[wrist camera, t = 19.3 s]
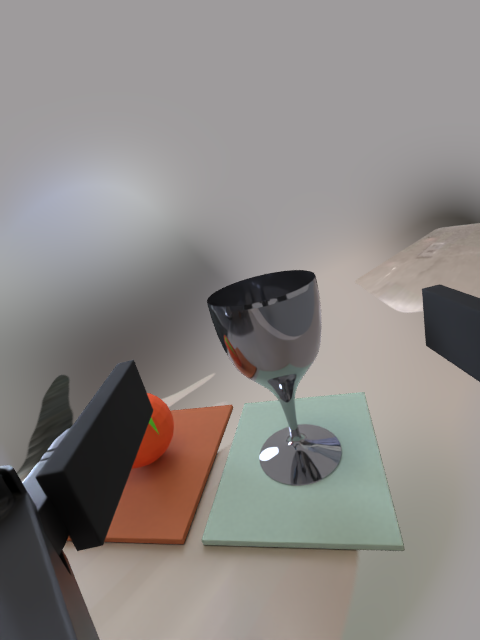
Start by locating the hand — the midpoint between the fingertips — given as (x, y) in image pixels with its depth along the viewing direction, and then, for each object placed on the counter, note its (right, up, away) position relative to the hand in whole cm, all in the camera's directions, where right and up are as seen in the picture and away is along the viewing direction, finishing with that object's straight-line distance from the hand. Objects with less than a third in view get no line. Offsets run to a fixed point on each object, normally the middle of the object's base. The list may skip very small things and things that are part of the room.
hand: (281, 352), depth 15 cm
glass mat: (+3, -10, +14) cm, 18 cm away
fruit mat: (-10, -13, +18) cm, 24 cm away
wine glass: (+3, -10, +14) cm, 17 cm away
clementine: (-10, -12, +18) cm, 24 cm away
